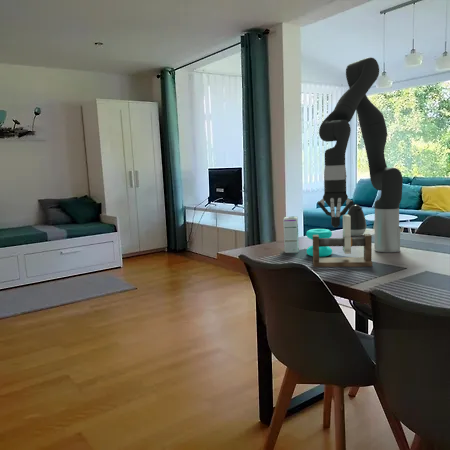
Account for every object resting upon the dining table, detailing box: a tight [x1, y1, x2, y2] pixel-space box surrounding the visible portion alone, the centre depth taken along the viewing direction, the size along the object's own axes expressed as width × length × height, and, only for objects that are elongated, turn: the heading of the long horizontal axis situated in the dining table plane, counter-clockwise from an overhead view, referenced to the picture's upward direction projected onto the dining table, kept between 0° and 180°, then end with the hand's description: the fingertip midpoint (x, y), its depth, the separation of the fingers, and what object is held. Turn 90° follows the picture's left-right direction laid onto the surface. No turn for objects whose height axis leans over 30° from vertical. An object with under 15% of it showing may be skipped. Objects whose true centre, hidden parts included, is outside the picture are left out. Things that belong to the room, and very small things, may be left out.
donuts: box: [305, 228, 333, 258], centre depth 172 cm, size 10×10×10 cm
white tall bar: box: [342, 214, 352, 255], centre depth 154 cm, size 2×7×13 cm, turn 171°
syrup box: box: [282, 216, 300, 254], centre depth 180 cm, size 6×6×14 cm
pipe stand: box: [312, 233, 374, 268], centre depth 155 cm, size 20×8×10 cm, turn 81°
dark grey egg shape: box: [346, 204, 367, 237], centre depth 212 cm, size 10×10×15 cm
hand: (335, 227), depth 154 cm, fingers closed
